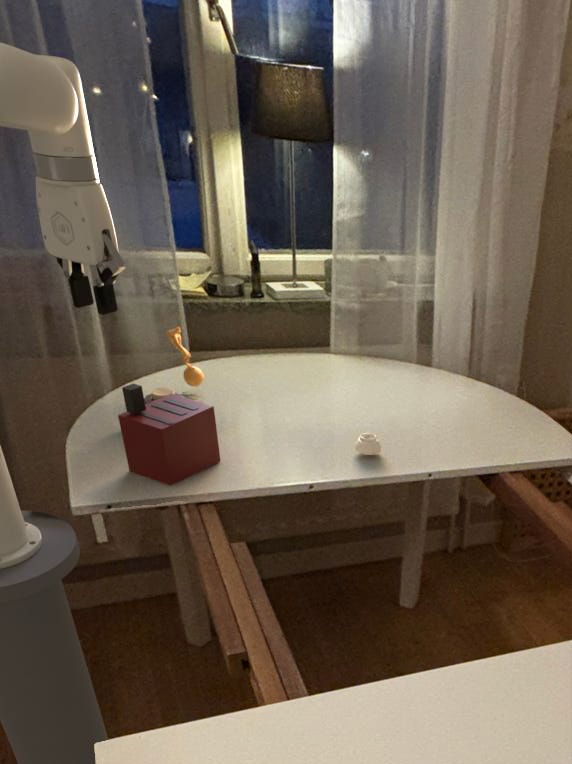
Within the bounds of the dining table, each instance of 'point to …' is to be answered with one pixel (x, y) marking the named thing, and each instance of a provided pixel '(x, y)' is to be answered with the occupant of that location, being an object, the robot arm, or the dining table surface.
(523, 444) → the dining table surface
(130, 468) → the toaster
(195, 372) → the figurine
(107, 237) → the robot arm
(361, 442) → the white jar
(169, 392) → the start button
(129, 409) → the slider
